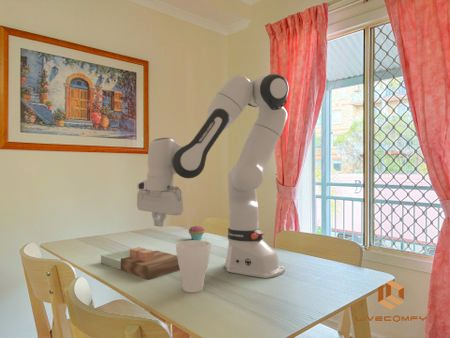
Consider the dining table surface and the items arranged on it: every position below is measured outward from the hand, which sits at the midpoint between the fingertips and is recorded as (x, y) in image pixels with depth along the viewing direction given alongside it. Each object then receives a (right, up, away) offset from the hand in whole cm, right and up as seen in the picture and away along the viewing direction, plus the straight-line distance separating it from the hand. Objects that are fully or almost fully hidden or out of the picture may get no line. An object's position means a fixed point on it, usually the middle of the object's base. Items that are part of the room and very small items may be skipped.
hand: (158, 226), depth 108 cm
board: (-3, -17, +7) cm, 18 cm away
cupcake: (+8, -18, +59) cm, 62 cm away
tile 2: (-5, -13, +4) cm, 14 cm away
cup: (+13, -17, -13) cm, 25 cm away
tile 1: (-9, -13, +7) cm, 17 cm away
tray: (-15, -17, +16) cm, 27 cm away
